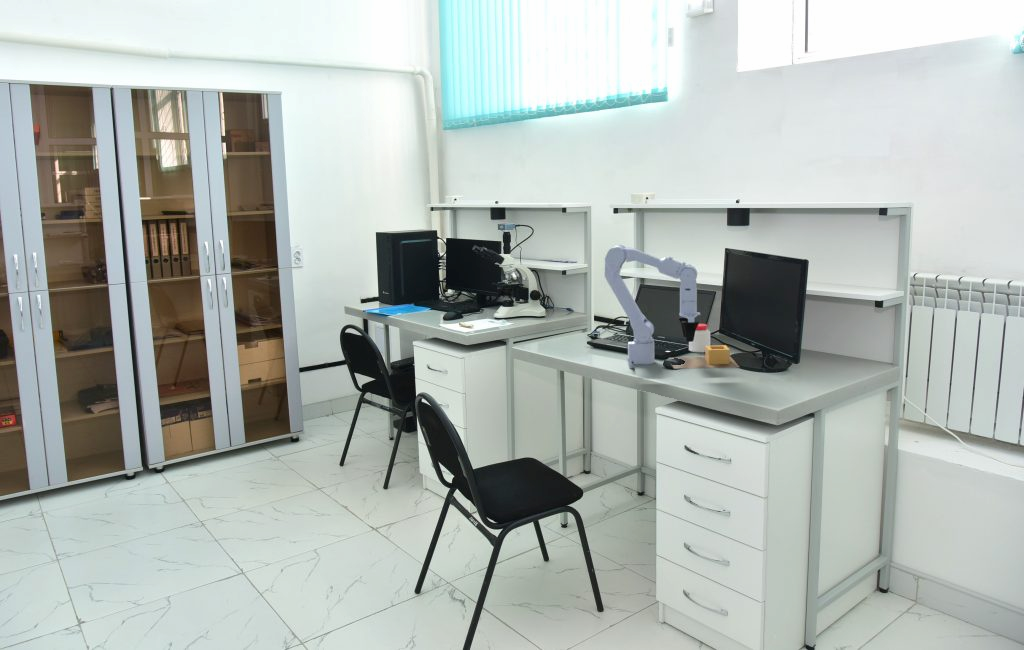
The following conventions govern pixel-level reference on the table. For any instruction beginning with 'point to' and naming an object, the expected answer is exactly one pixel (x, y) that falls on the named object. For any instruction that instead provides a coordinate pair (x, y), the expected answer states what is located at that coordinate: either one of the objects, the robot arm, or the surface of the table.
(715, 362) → the orange open box
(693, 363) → the keeper board
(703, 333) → the pill bottle
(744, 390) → the table surface
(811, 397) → the table surface
